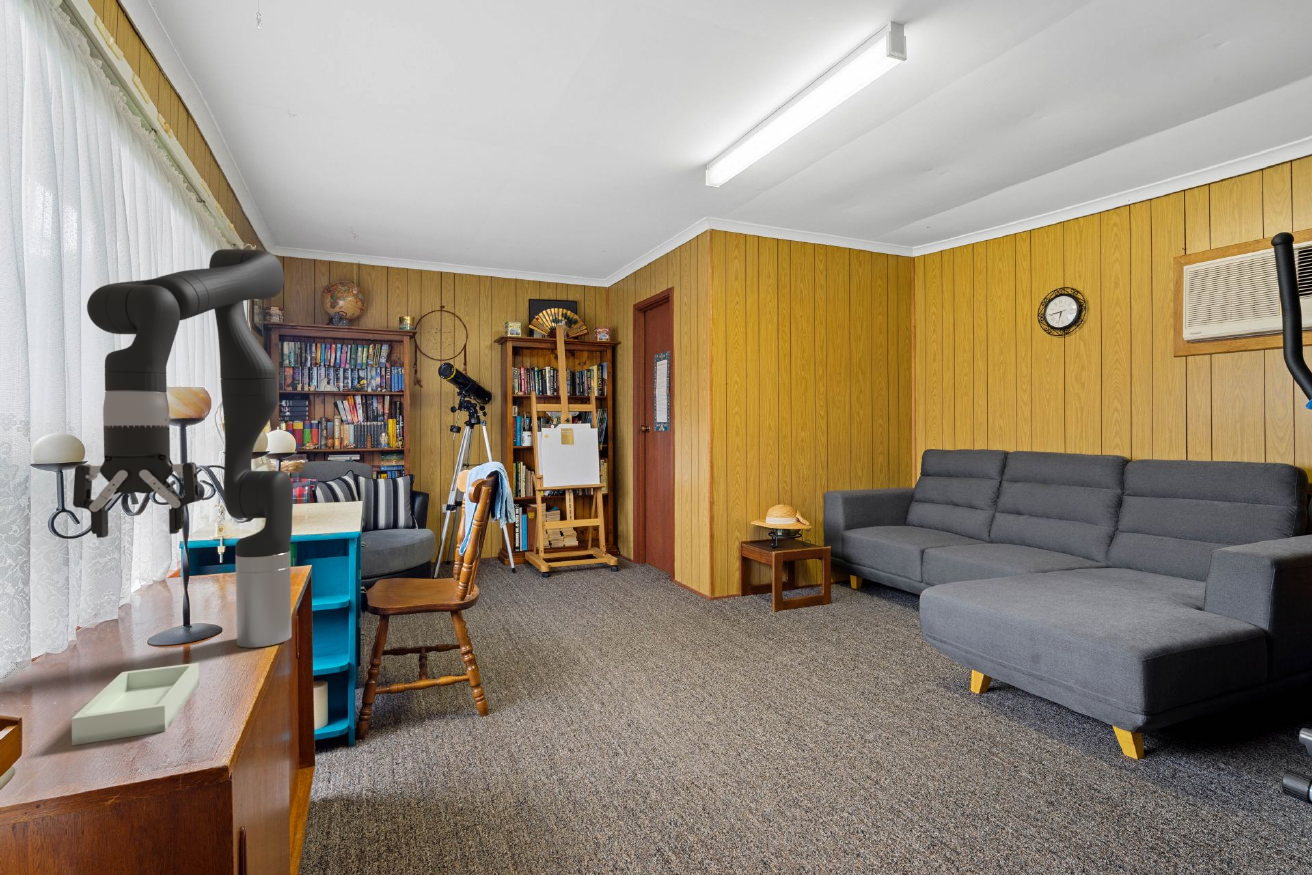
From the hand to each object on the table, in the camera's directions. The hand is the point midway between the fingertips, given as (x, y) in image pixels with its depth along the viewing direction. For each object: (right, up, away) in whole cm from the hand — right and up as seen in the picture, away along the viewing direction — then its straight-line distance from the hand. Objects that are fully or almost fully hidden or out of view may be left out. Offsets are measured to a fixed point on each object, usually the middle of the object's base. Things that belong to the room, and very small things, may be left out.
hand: (139, 535), depth 95 cm
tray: (0, -26, 0) cm, 26 cm away
